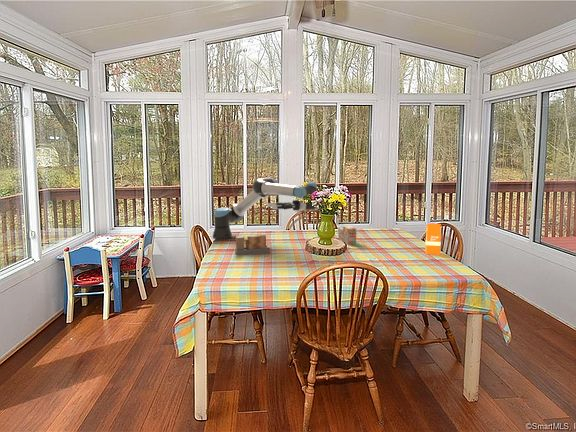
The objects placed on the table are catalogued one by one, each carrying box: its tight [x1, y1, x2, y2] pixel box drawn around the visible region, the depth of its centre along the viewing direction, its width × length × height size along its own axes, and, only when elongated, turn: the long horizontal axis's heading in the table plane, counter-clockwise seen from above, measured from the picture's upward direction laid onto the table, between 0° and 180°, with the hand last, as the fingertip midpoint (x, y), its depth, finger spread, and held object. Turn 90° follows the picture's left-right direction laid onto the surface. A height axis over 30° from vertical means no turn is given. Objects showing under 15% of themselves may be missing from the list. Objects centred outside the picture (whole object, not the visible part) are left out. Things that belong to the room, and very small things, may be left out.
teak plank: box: [245, 234, 267, 249], centre depth 308 cm, size 14×4×10 cm, turn 107°
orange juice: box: [424, 223, 442, 255], centre depth 304 cm, size 8×9×20 cm
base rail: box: [234, 235, 271, 256], centre depth 307 cm, size 22×9×11 cm, turn 107°
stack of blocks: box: [337, 225, 357, 246], centre depth 340 cm, size 21×6×12 cm, turn 14°
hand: (269, 206), depth 316 cm, fingers open, 13 cm apart
